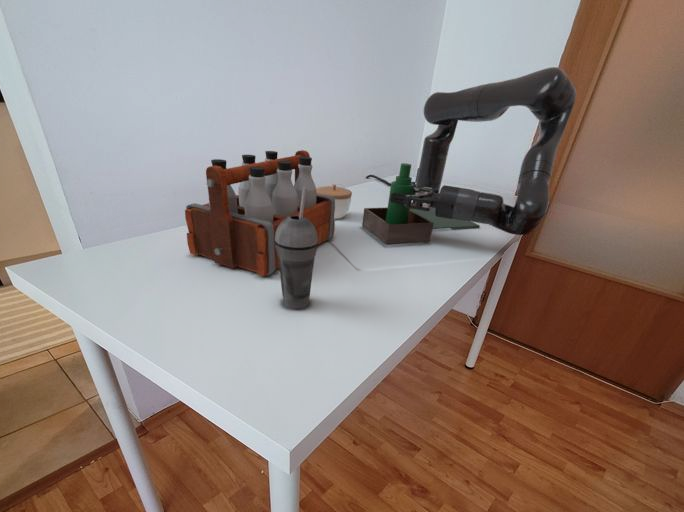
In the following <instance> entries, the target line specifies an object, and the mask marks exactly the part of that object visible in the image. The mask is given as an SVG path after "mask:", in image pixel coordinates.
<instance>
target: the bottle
mask: <svg viewBox="0 0 684 512" xmlns="http://www.w3.org/2000/svg"><path fill="white" fill-rule="evenodd" d="M411 170H412V164H411V163H406V162H405V163H403V162H402V163H400V168H399V173H398V175H396V177H395V180H394V181H393V180H392V181H391V182H390V183H391V186H390V190H389V196H388V203H387V207H388V208H387V215H386V221H385V222H387V223H388V224H390V225H391V224H407V223H408V218H409V213H410V208H406V207H405V205H404V204H399V203H393V202H391V201H390V199H391V194H392V193H399V194H406V195H408V194H409V195H413V191H414V186H415V185H414V184H413V183H411V182H412V180H413V178H412V177H411ZM412 202H413V200H411V203H412Z"/></svg>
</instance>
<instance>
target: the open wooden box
mask: <svg viewBox="0 0 684 512" xmlns="http://www.w3.org/2000/svg"><path fill="white" fill-rule="evenodd" d="M387 208H388V206H387V207H364V208H363V215H362V223H361V227H362V228H363V229H365V230H366V231H367V232H369V233H370V234H371V235H373V236H374V237H375V238H376V239H377V240H379V241H380V242H381V243H382V244H384V245H385V246H394V245H405V244H407V245H408V244H421V243H430V240H431V237H432V232H433V229H432V228H433V224H434V223H432V222H431V221H429V220H427V219H425V218H424V217H422V216H420V215H418V214H417V213H415V212H413V211H411V210H410V213H409V218H408V223H407V224H391V225H390V224H388V223H387V222H385V221H386V215H387Z"/></svg>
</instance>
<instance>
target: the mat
mask: <svg viewBox="0 0 684 512" xmlns="http://www.w3.org/2000/svg"><path fill="white" fill-rule="evenodd" d="M410 210H411V211H413V212H415V213H417V214H418V215H420V216H422V217H424V218H425V219H427V220H429V221H431V222H432V223H434V224H433V228H432V230H440V229H441V230H443V229H450V230H466V229H467V230H469V229H479V228H480V224H479V223H476V222H472V221H471V222H470V221H459V220H453V219H447V218H441V217H436V216H435V211H436V208H430V210H429V211H423V210H417V209H411V208H410Z"/></svg>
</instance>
